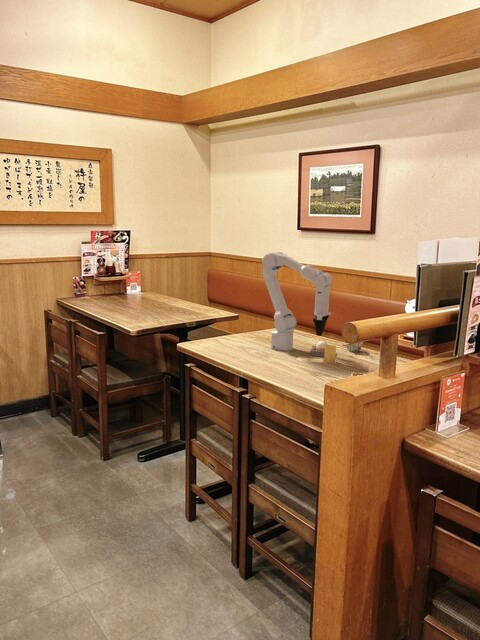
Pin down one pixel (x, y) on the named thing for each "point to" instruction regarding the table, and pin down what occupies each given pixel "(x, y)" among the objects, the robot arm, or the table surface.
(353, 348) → the grey rock
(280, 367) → the table surface
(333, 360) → the yellow upright block
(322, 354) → the grey square tray
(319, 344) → the dome
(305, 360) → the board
